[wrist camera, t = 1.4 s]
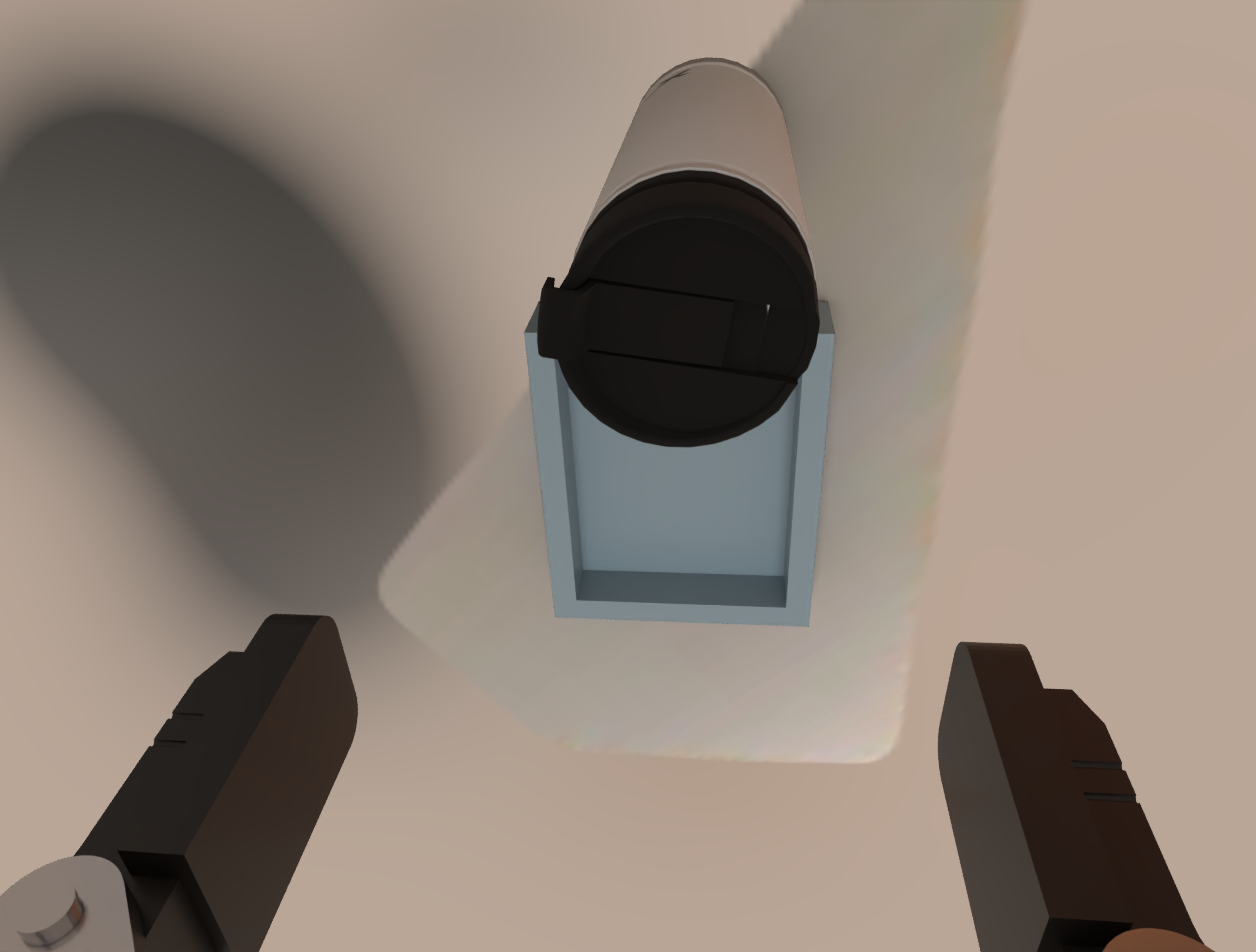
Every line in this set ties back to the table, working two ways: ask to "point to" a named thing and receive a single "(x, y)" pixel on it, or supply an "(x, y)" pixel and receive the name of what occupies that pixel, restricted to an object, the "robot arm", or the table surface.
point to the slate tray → (682, 508)
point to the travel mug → (690, 268)
